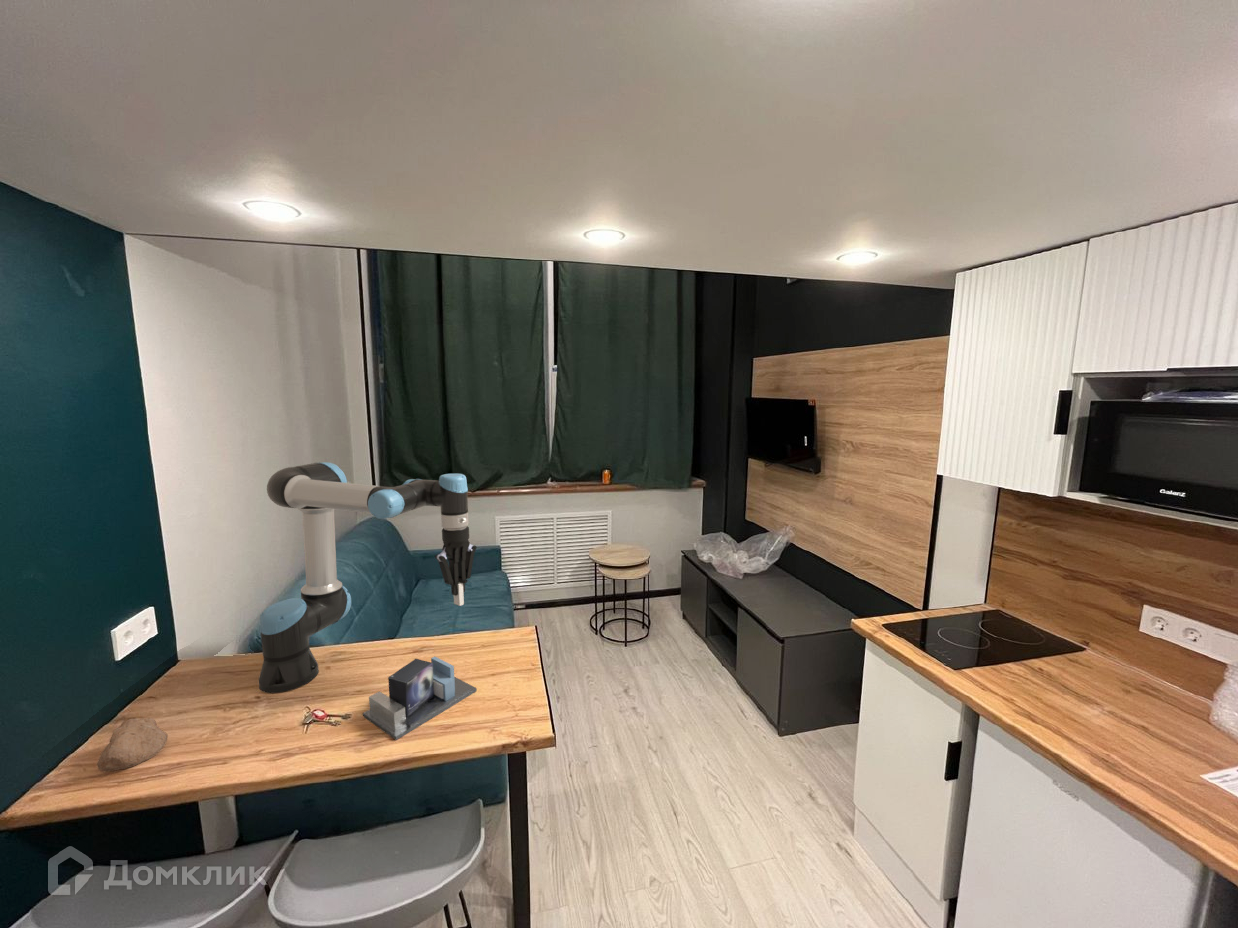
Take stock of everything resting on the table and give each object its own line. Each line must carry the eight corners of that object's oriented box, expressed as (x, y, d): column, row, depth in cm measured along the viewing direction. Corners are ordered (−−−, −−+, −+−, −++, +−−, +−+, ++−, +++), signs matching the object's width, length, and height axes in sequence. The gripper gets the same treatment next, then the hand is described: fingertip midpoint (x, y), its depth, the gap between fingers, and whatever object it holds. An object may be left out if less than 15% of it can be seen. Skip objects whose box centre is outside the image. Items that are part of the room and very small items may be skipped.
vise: (362, 716, 132) (361, 695, 131) (442, 673, 152) (441, 655, 151) (396, 740, 123) (394, 718, 122) (476, 691, 143) (475, 672, 142)
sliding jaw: (419, 687, 143) (417, 661, 142) (433, 679, 147) (431, 654, 146) (444, 701, 136) (442, 675, 135) (458, 693, 140) (457, 667, 139)
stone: (147, 745, 124) (113, 721, 120) (181, 723, 125) (149, 699, 122) (116, 788, 113) (77, 763, 109) (154, 763, 114) (117, 738, 110)
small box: (408, 719, 129) (405, 682, 128) (388, 713, 131) (386, 677, 130) (435, 696, 139) (433, 661, 138) (417, 691, 141) (415, 657, 140)
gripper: (444, 534, 135) (448, 615, 138) (481, 524, 145) (484, 599, 149) (427, 530, 139) (432, 608, 142) (465, 520, 150) (468, 593, 153)
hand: (458, 603), depth 146 cm, fingers closed
